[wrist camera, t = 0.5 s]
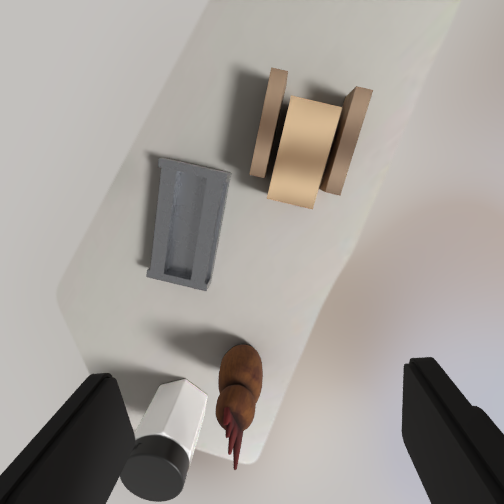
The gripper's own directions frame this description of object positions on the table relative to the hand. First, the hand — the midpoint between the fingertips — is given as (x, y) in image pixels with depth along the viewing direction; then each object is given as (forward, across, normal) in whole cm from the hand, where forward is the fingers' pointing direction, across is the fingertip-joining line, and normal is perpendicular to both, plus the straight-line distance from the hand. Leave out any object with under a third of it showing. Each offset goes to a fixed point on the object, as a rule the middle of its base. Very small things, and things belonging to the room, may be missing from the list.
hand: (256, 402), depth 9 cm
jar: (+28, +18, +27) cm, 43 cm away
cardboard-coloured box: (+28, -4, -8) cm, 29 cm away
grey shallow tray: (+28, +11, -1) cm, 30 cm away
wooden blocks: (+28, -5, -10) cm, 30 cm away
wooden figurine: (+28, +6, +20) cm, 35 cm away
